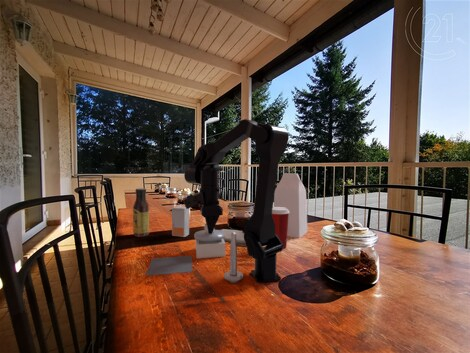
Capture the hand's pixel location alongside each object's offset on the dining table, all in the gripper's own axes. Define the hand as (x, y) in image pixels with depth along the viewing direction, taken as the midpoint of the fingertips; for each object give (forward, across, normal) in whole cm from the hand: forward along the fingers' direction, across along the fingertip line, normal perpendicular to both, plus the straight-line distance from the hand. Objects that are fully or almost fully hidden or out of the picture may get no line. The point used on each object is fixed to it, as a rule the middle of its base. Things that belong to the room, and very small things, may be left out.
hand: (209, 232), depth 81 cm
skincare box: (+8, -25, -10) cm, 28 cm away
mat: (+8, +8, -12) cm, 16 cm away
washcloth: (+8, -15, +11) cm, 20 cm away
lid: (+1, 0, 0) cm, 1 cm away
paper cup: (+8, -3, +25) cm, 26 cm away
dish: (+8, 0, 0) cm, 8 cm away
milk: (+8, -20, +37) cm, 43 cm away
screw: (+8, +21, +4) cm, 23 cm away
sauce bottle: (+8, -28, -26) cm, 39 cm away
